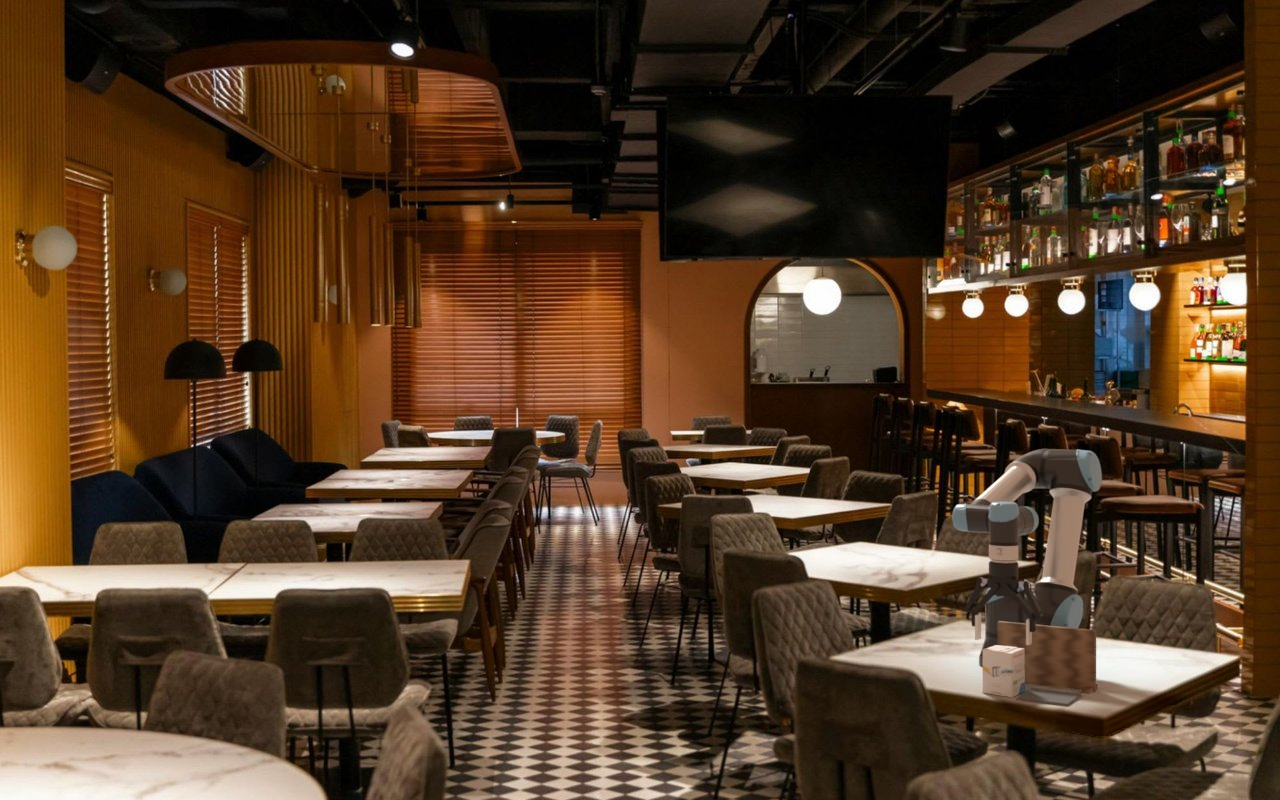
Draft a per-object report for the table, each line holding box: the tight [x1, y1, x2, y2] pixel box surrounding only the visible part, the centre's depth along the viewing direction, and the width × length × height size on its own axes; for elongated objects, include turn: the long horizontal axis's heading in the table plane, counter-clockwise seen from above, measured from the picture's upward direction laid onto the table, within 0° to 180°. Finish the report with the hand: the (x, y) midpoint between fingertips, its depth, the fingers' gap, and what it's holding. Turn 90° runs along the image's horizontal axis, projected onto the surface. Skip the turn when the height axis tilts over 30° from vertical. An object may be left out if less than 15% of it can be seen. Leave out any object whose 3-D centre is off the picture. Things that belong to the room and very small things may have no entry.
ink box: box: [982, 645, 1026, 698], centre depth 362 cm, size 9×8×12 cm
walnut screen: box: [997, 621, 1099, 694], centre depth 370 cm, size 26×7×16 cm, turn 57°
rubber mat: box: [1016, 687, 1083, 707], centre depth 356 cm, size 13×13×1 cm
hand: (1003, 641), depth 362 cm, fingers open, 13 cm apart
